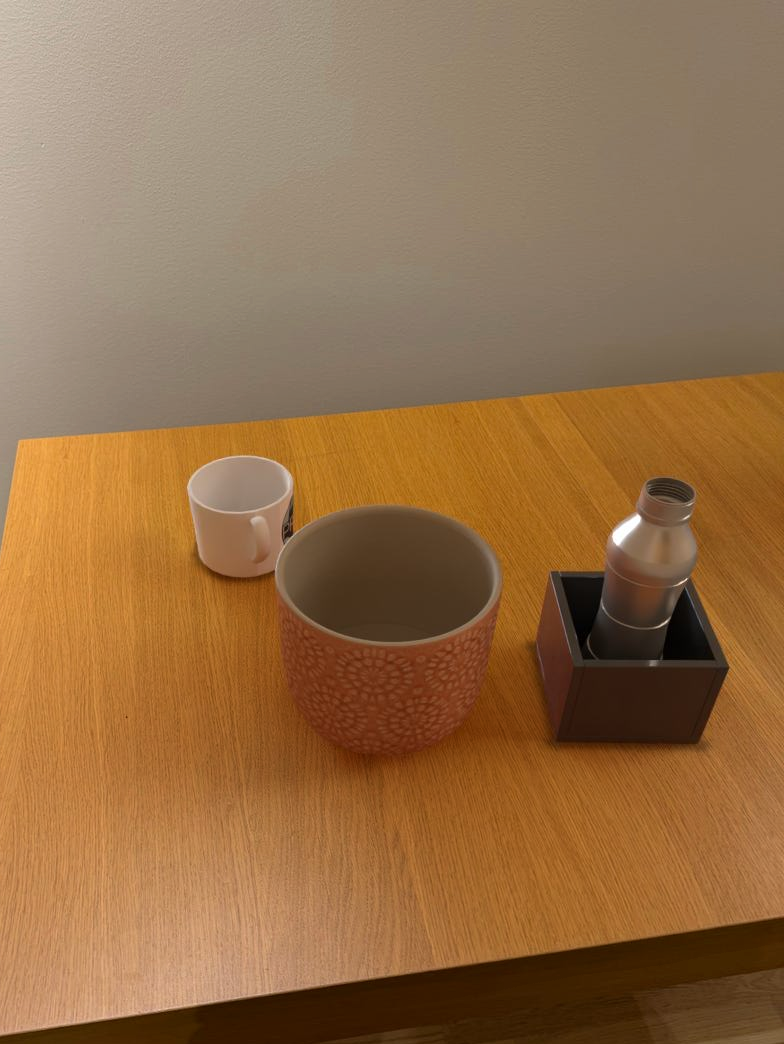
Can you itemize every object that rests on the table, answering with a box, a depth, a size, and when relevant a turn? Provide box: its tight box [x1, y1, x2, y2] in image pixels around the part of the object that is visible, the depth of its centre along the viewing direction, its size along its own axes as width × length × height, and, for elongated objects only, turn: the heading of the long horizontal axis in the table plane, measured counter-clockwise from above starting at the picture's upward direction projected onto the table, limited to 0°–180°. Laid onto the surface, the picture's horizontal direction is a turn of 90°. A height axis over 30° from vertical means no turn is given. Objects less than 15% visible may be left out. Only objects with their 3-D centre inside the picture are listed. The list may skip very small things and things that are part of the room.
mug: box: [186, 455, 295, 579], centre depth 92 cm, size 13×10×8 cm
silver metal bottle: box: [581, 476, 699, 660], centre depth 72 cm, size 6×7×20 cm
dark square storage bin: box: [534, 570, 731, 744], centre depth 77 cm, size 12×12×9 cm
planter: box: [274, 504, 504, 757], centre depth 74 cm, size 17×17×15 cm
